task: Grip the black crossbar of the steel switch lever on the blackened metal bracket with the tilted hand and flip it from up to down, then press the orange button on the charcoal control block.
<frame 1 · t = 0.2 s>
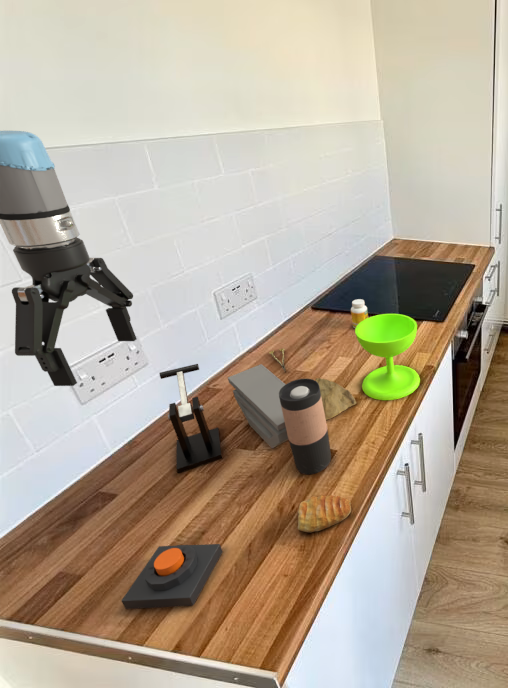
hand: (99, 360, 74), 31 cm above the worktop, tool pointing down, fingers open, 13 cm apart
travel mug: (314, 462, 96), on the worktop
tongs: (282, 361, 129), on the worktop
sharpening stone: (277, 428, 104), on the worktop
rock: (335, 411, 111), on the worktop
switch bracket: (199, 450, 97), on the worktop
wineglass: (391, 382, 123), on the worktop
start button: (169, 561, 70), point 4 cm above the worktop, slide at 0.1 cm
switch lever: (183, 392, 94), point 13 cm above the worktop, hinge at 25.0°
button block: (177, 578, 72), on the worktop
pastry: (322, 517, 84), on the worktop
supplement bottle: (361, 326, 151), on the worktop
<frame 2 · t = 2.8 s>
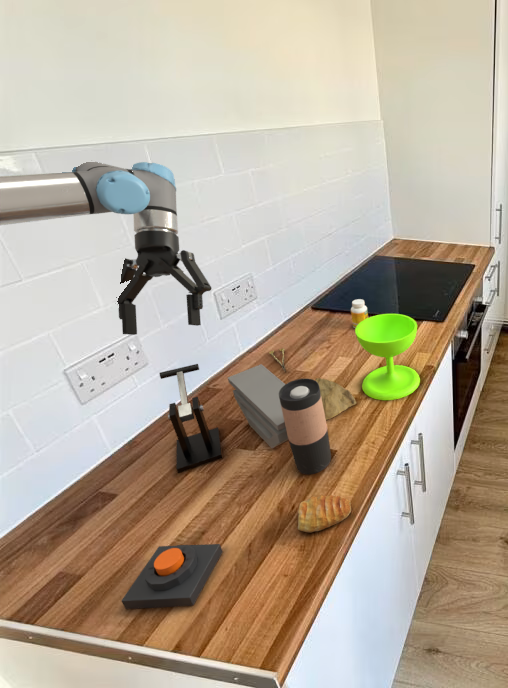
hand: (162, 329, 92), 26 cm above the worktop, tool tilted 35°, fingers open, 13 cm apart
nothing on the worktop moved.
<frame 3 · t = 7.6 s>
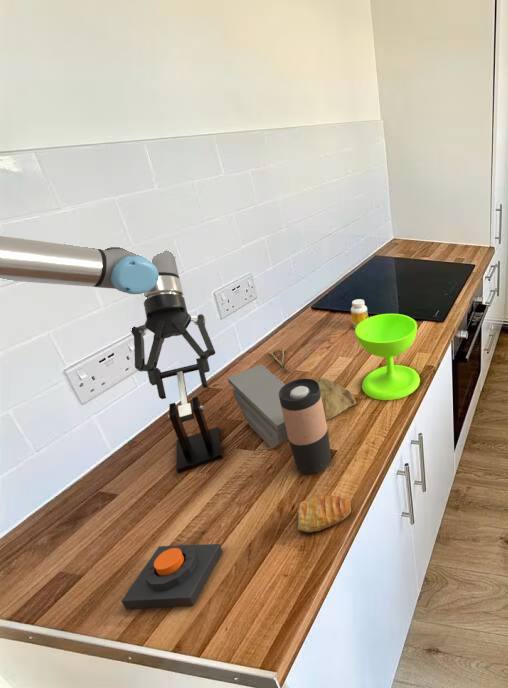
hand: (184, 391, 96), 12 cm above the worktop, tool tilted 45°, fingers closed on switch lever, 7 cm apart
switch lever: (183, 392, 94), point 13 cm above the worktop, hinge at 25.0°, touching gripper
everything else where it was.
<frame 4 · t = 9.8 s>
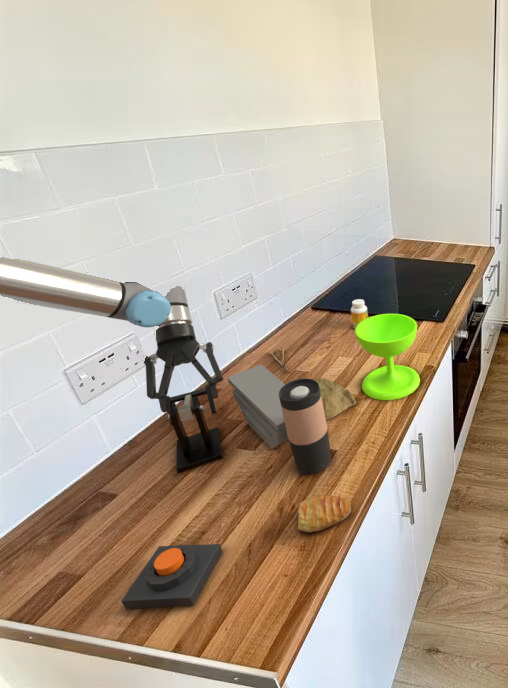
hand: (194, 418, 100), 4 cm above the worktop, tool tilted 45°, fingers closed on switch lever, 7 cm apart
switch lever: (187, 404, 96), point 10 cm above the worktop, hinge at -14.3°, touching gripper
everything else where it was.
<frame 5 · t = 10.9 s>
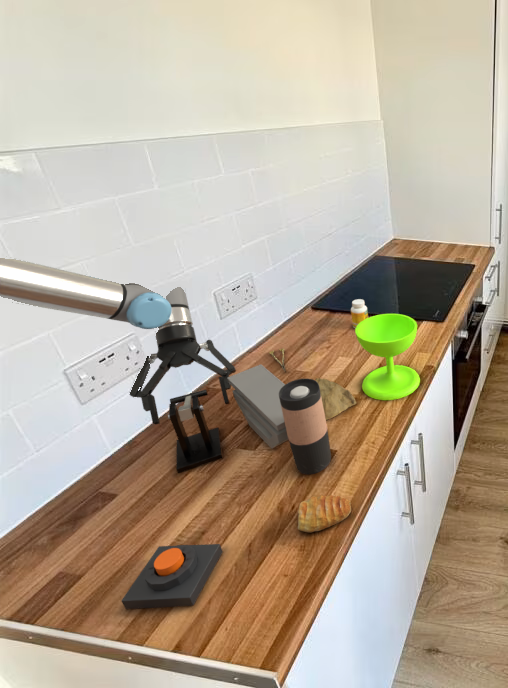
hand: (192, 413, 100), 5 cm above the worktop, tool tilted 45°, fingers open, 13 cm apart
switch lever: (187, 404, 96), point 10 cm above the worktop, hinge at -16.0°
everything else where it was.
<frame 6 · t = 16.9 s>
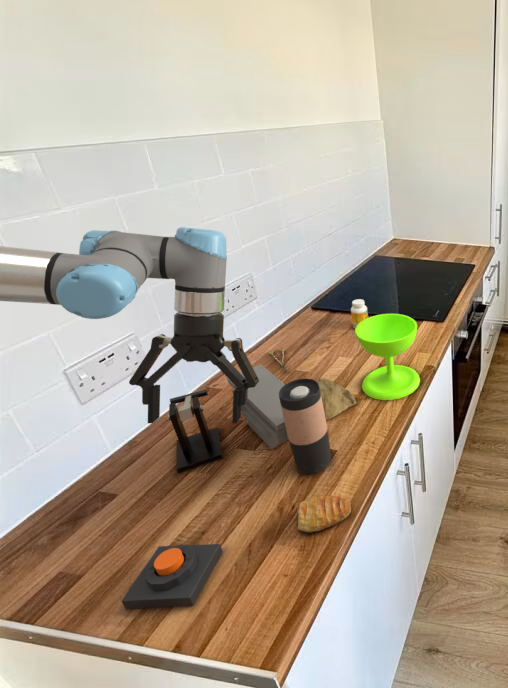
hand: (196, 420, 83), 16 cm above the worktop, tool tilted 20°, fingers open, 13 cm apart
nothing on the worktop moved.
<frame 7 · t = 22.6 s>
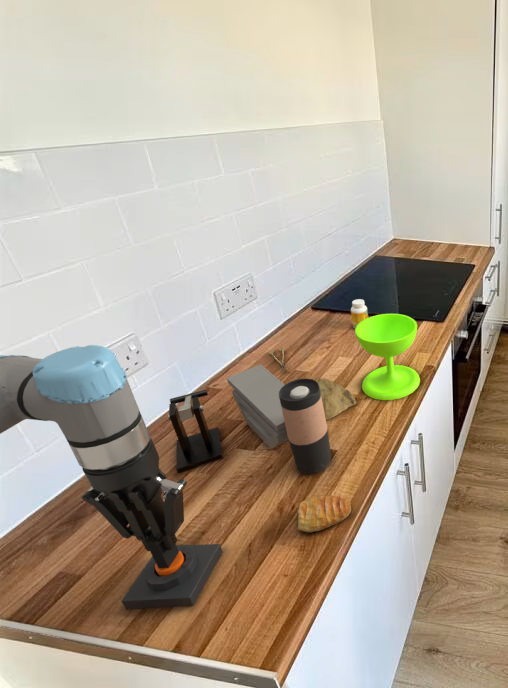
hand: (169, 559, 70), 5 cm above the worktop, tool pointing down, fingers closed
start button: (170, 564, 70), point 4 cm above the worktop, slide at -0.5 cm, touching gripper
everything else where it was.
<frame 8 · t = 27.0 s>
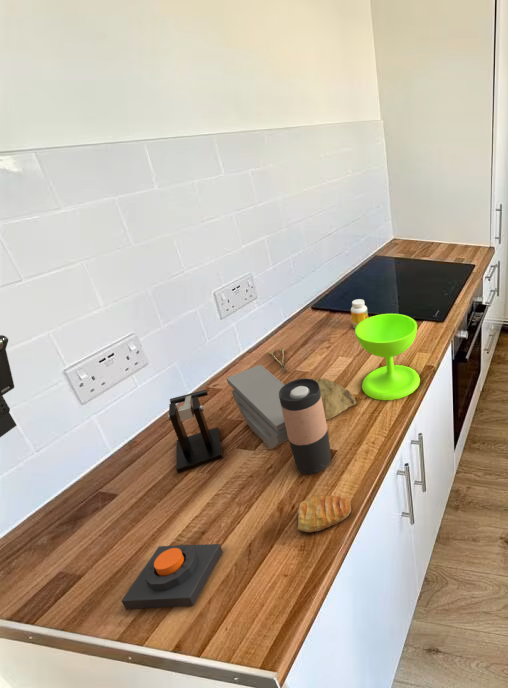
hand: (3, 431, 67), 24 cm above the worktop, tool pointing down, fingers closed
start button: (169, 561, 70), point 4 cm above the worktop, slide at 0.1 cm
everything else where it was.
at the end: switch lever at -16° (first picture: +25°); start button pushed in 1.0 cm at the most during the clip, back to where it started at the end; start button slide at 0.1 cm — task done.
